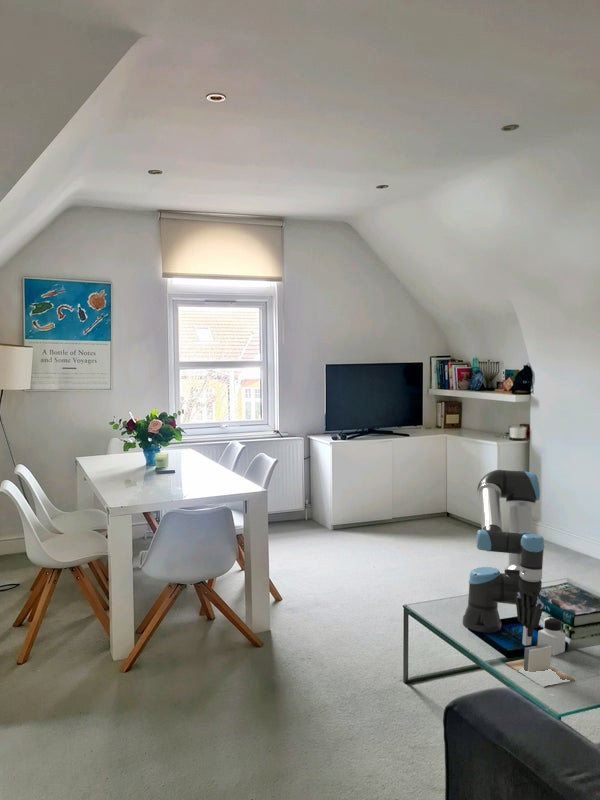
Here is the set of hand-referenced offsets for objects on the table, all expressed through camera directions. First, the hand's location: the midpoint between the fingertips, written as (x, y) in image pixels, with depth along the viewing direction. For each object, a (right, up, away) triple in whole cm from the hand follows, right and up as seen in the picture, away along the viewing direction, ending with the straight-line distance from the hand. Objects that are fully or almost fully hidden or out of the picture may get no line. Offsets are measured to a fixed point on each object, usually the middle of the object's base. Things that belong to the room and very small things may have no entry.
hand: (526, 644), depth 229 cm
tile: (+2, -7, -4) cm, 9 cm away
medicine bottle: (+14, -8, +13) cm, 21 cm away
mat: (+2, -8, -5) cm, 10 cm away
